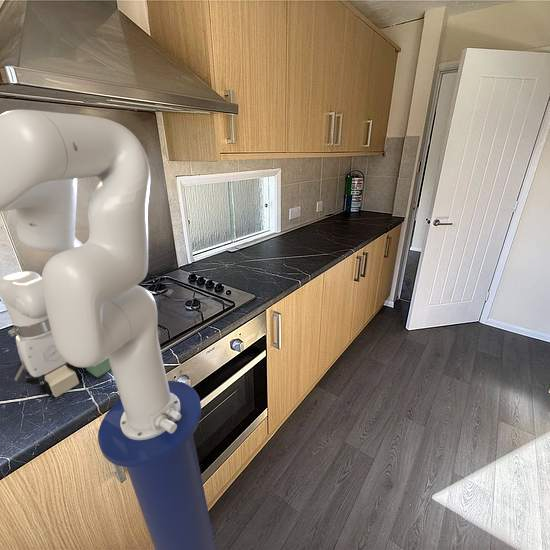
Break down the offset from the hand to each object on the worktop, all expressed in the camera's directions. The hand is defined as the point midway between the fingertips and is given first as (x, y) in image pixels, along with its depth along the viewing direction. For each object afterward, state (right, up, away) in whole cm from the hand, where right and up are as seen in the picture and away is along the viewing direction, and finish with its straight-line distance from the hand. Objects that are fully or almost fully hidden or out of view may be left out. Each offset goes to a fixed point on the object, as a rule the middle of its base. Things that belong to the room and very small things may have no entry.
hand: (62, 384), depth 74 cm
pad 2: (+6, +2, +6) cm, 9 cm away
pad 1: (0, 0, 0) cm, 0 cm away
